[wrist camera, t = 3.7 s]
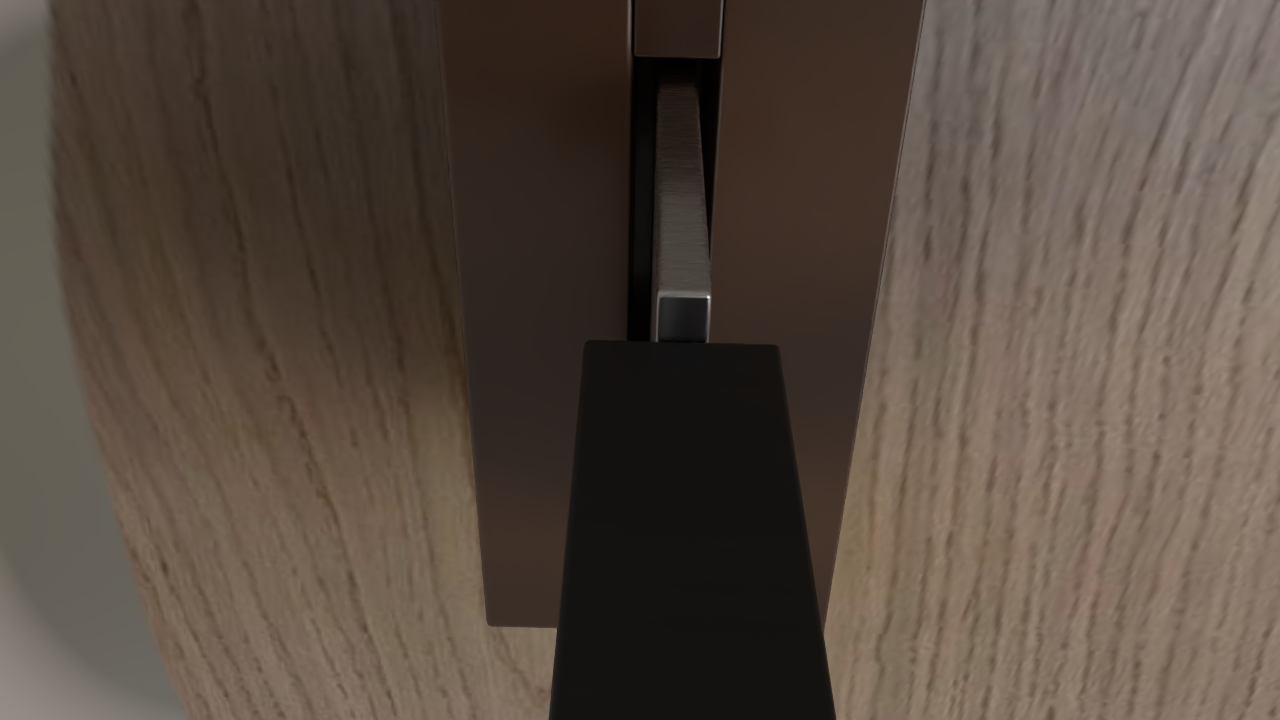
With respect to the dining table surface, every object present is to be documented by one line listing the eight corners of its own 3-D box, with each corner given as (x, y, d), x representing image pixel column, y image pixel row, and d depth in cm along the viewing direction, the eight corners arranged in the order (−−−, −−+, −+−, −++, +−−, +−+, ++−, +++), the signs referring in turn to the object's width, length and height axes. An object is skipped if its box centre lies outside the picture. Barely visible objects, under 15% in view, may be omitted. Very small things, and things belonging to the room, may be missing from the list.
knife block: (489, -169, 18) (426, -71, 13) (862, -161, 18) (937, -60, 13) (520, 420, 25) (485, 628, 20) (792, 427, 25) (824, 636, 20)
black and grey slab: (610, 22, 16) (514, 984, 5) (740, 24, 16) (903, 994, 5) (608, 460, 20) (556, 1438, 10) (708, 462, 20) (761, 1442, 10)
